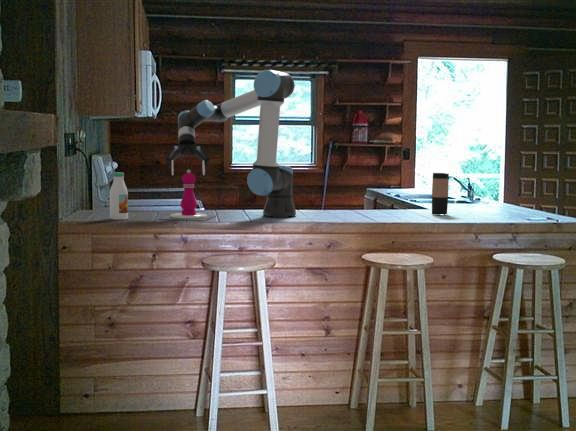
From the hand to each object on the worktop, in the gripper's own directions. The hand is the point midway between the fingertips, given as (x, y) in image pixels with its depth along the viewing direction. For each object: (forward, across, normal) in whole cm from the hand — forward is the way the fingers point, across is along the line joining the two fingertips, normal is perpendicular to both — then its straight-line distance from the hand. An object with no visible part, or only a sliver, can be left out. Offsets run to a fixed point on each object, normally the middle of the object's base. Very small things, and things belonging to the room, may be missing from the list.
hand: (188, 173), depth 315 cm
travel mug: (+8, -121, -20) cm, 123 cm away
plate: (+14, 0, -14) cm, 20 cm away
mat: (+14, 0, -14) cm, 20 cm away
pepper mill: (+13, 0, -13) cm, 18 cm away
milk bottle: (+16, +30, -12) cm, 36 cm away
